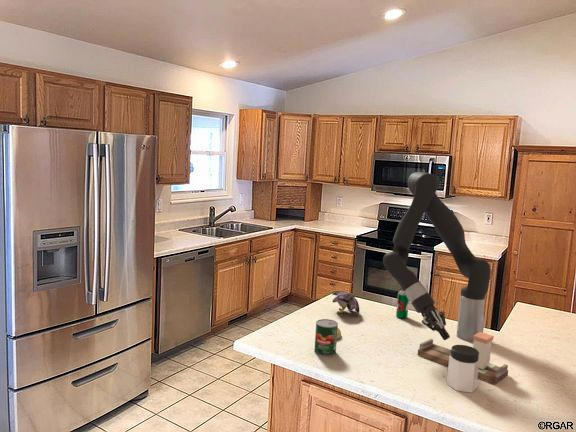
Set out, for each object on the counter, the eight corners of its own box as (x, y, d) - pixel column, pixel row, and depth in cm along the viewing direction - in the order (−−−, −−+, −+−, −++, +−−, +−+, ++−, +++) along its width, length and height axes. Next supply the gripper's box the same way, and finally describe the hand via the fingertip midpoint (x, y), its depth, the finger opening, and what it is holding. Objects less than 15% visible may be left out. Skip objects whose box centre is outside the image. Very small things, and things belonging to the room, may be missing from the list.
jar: (453, 376, 147) (457, 341, 146) (479, 385, 142) (483, 349, 141) (443, 386, 141) (446, 349, 139) (469, 395, 135) (473, 358, 134)
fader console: (417, 354, 163) (418, 344, 163) (431, 348, 170) (432, 338, 170) (495, 384, 143) (496, 372, 143) (507, 375, 150) (508, 364, 150)
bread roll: (319, 339, 174) (319, 329, 173) (321, 331, 183) (322, 321, 182) (340, 341, 173) (340, 332, 172) (341, 333, 181) (342, 323, 181)
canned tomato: (316, 357, 158) (318, 327, 156) (312, 347, 165) (313, 319, 164) (338, 356, 159) (340, 326, 157) (333, 347, 166) (334, 318, 165)
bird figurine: (369, 298, 198) (338, 287, 197) (362, 323, 196) (330, 312, 195) (361, 297, 212) (331, 287, 212) (353, 321, 210) (324, 310, 210)
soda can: (407, 319, 201) (409, 293, 199) (396, 318, 202) (398, 292, 200) (407, 316, 206) (409, 290, 204) (395, 314, 207) (397, 289, 205)
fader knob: (470, 365, 151) (473, 335, 150) (477, 360, 155) (480, 331, 154) (483, 370, 148) (486, 339, 147) (490, 365, 152) (493, 335, 151)
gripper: (416, 295, 160) (446, 338, 153) (435, 289, 169) (463, 329, 162) (402, 305, 165) (430, 348, 157) (421, 299, 174) (448, 339, 167)
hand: (447, 338), depth 160 cm, fingers closed
